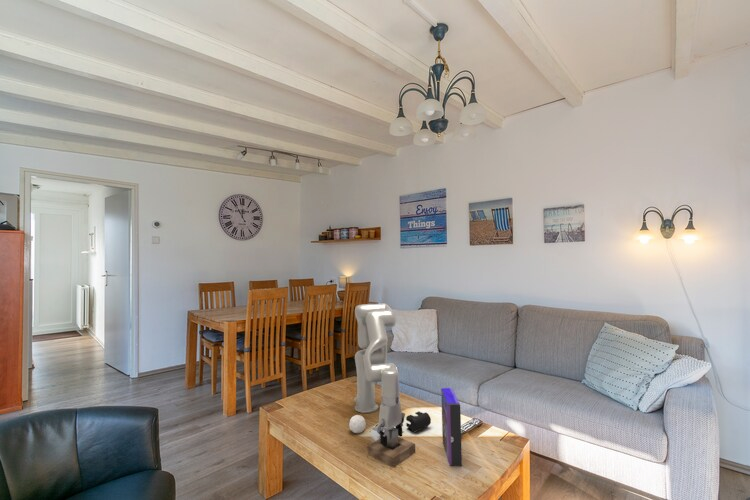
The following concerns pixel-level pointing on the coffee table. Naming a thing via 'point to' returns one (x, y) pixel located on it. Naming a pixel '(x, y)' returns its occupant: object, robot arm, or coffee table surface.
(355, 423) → the geometric ball
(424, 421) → the end cap
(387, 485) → the coffee table surface
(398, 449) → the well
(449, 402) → the cereal box
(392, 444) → the grey rectangular block
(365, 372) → the robot arm
